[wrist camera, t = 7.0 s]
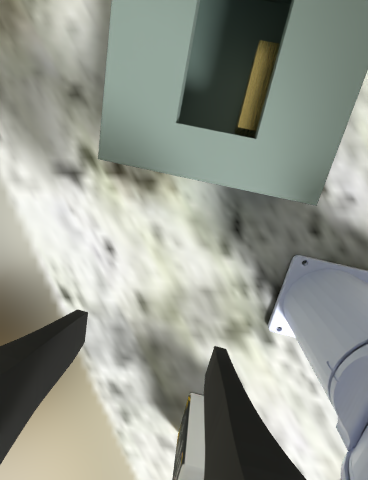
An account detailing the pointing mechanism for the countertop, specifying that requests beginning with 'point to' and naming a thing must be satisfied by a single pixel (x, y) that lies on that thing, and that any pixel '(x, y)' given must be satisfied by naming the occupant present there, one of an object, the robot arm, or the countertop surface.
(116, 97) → the box
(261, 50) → the gold rectangular block
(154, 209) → the countertop surface
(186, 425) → the medicine bottle
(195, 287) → the countertop surface
